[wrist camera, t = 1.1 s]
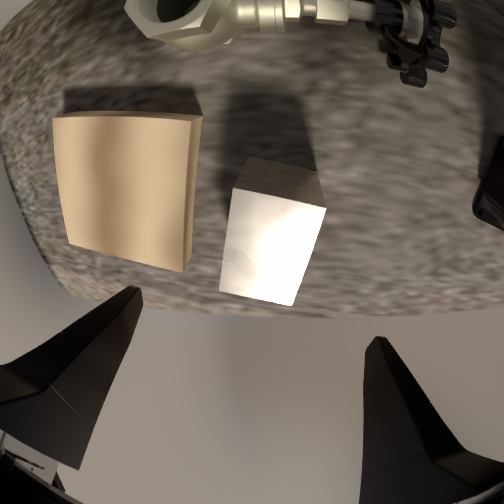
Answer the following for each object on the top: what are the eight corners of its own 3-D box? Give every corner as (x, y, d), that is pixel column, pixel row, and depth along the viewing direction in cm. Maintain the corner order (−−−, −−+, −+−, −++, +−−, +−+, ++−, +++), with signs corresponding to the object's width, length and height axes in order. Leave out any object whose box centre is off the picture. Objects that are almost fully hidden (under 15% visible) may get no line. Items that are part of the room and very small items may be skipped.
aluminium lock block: (316, 170, 15) (326, 208, 11) (292, 252, 19) (291, 305, 15) (249, 155, 15) (233, 188, 11) (235, 240, 19) (218, 290, 15)
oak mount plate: (202, 116, 14) (191, 121, 13) (191, 255, 20) (182, 272, 18) (71, 111, 14) (52, 118, 13) (82, 230, 20) (69, 243, 18)
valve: (183, 79, 13) (397, 85, 12) (121, 85, 8) (459, 94, 6) (179, -16, 9) (392, -13, 8) (120, -51, 4) (444, -49, 2)
